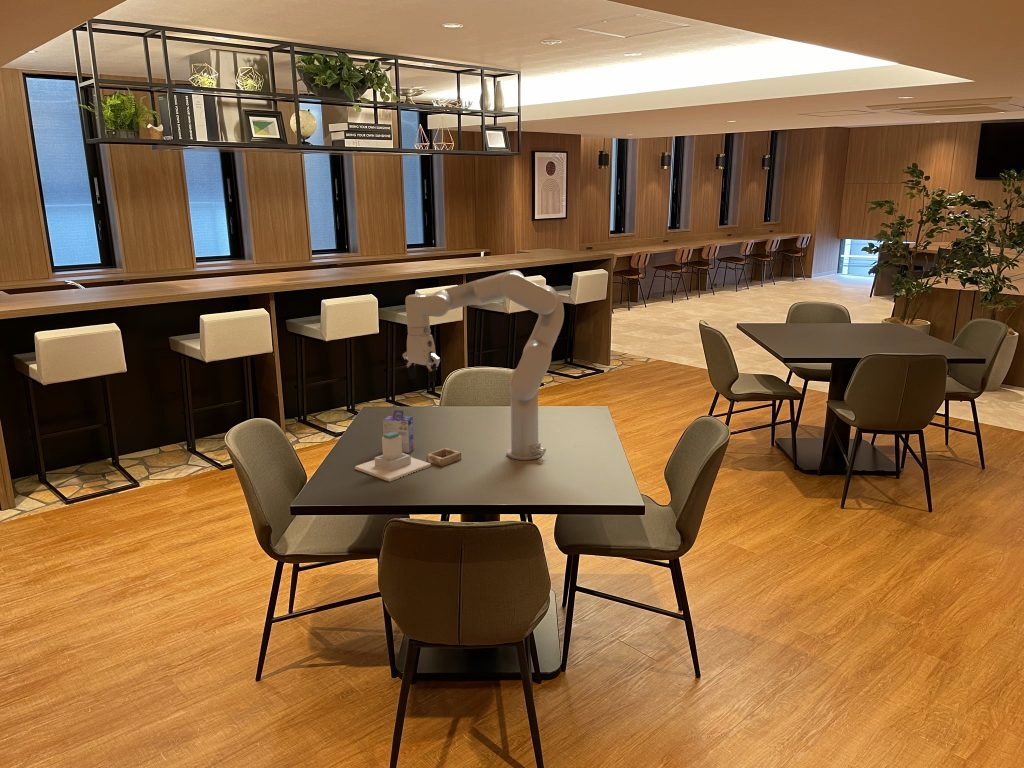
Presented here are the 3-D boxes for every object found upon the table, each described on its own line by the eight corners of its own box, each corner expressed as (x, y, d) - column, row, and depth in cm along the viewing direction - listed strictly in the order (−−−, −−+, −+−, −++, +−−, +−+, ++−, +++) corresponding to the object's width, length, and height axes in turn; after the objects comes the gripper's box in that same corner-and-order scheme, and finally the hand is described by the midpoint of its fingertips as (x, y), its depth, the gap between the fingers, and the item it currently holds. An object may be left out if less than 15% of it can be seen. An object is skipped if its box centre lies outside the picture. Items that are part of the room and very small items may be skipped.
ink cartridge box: (415, 448, 280) (413, 410, 277) (410, 453, 275) (408, 414, 271) (389, 447, 282) (387, 409, 279) (383, 452, 277) (381, 413, 273)
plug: (402, 464, 262) (401, 433, 259) (391, 468, 258) (389, 436, 255) (395, 461, 264) (393, 430, 261) (383, 465, 261) (381, 434, 258)
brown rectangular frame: (461, 459, 268) (461, 452, 268) (442, 466, 262) (442, 459, 261) (445, 454, 274) (445, 447, 273) (426, 461, 267) (426, 454, 266)
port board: (431, 466, 262) (430, 455, 261) (389, 481, 249) (388, 470, 248) (396, 454, 274) (395, 444, 273) (355, 469, 261) (354, 457, 260)
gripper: (445, 331, 260) (448, 380, 264) (409, 327, 270) (413, 374, 275) (429, 335, 254) (432, 385, 258) (393, 330, 265) (397, 379, 269)
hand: (422, 379), depth 266 cm, fingers open, 9 cm apart
